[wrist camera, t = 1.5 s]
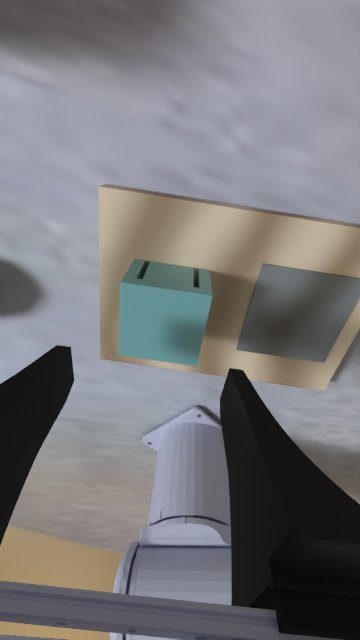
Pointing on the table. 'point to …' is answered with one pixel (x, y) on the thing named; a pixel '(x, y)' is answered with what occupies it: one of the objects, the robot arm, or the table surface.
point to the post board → (240, 282)
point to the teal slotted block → (163, 312)
